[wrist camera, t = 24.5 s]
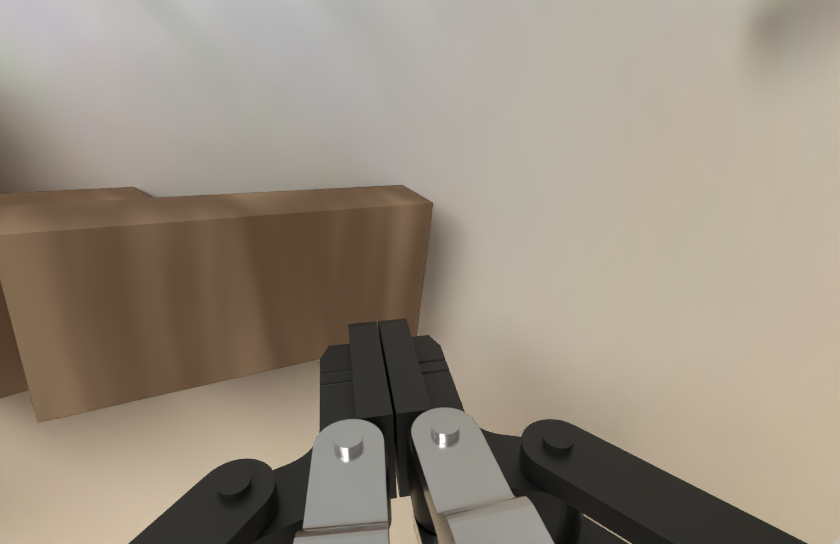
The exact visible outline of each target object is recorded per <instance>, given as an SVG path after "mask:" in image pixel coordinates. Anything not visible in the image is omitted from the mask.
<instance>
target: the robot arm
mask: <svg viewBox="0 0 840 544" xmlns="http://www.w3.org/2000/svg"><path fill="white" fill-rule="evenodd" d="M348 329H349V341H350V344H341V345H331V346H328V348H327V349H326V351H325V352H324V354H323V355H322V357H321V358H320V431H319V434H318V436H317V437H316V439H315V441H314V445H313V447H312V449H311V450H310V451H309V452H308V453H306V454H305V455H304V456H303V457H301V458H299V459H298V460H296V461H294V462H292V463H290V464H287V465H285V466H282V467H280V468H277V469H275V470H272V469H271V467H269V466H268V465H267V464H266V463H264V462H262V461H259V460H256V459H238V460H234V461H230V462H228V463H225V464H223V465H221V466H219V467H217V468H216V469H214V470H212V471H211V472H210V473H209V474H207V475H206V476H205V477H204V478H203V479H202V480H201V481H199V482H198V483H197V484H196V485H195V486H194V487H193V488H191V489H190V490H189V491H188V492H187V493H186V494H185V495H183V496H182V497H181V498H180V499H179V500H178V501H177V502H175V503H174V504H173V505H172V506H171V507H170V508H169V509H167V510H166V511H165V512H164V513H163V514H162V515H161V516H160V517H158V518H157V519H156V520H155V521H154V522H153V523H152V524H150V525H149V526H148V527H147V528H146V529H145V530H144V531H142V532H141V533H140V534H139V535H138V536H137V537H136V538H134V539H133V540H132V541H131V542H130V543H129V544H390V538H389V528H390V525H391V520H392V519H391V499H393V498H397V493H396V477H397V483H398V490H399V496H400V497H405V496H411V500H412V506H413V522H414V531H415V535H416V539H417V543H418V544H628V543H627V542H625V541H623V540H622V539H620V538H619V537H617V536H615V535H614V534H612V533H610V532H609V531H607V530H606V529H604V528H602V527H601V526H599V525H597V524H596V523H594V522H593V521H591V520H589V519H588V518H586V517H585V516H583V514H585V515H587V516H588V517H590V518H592V519H593V520H595V521H596V522H598V523H600V524H601V525H603V526H605V527H606V528H608V529H609V530H611V531H613V532H614V533H616V534H618V535H619V536H621V537H622V538H624V539H626V540H627V541H629V542H631V543H632V544H807V543H805V542H803V541H801V540H799V539H797V538H795V537H793V536H791V535H789V534H788V533H786V532H784V531H782V530H780V529H778V528H776V527H774V526H772V525H770V524H768V523H766V522H764V521H762V520H760V519H758V518H756V517H754V516H752V515H750V514H748V513H746V512H744V511H742V510H740V509H738V508H736V507H734V506H732V505H730V504H728V503H726V502H724V501H722V500H721V499H719V498H717V497H715V496H713V495H711V494H709V493H707V492H705V491H703V490H701V489H699V488H697V487H695V486H693V485H691V484H689V483H687V482H685V481H683V480H681V479H679V478H677V477H675V476H673V475H671V474H669V473H667V472H665V471H663V470H661V469H659V468H657V467H655V466H654V465H652V464H650V463H648V462H646V461H644V460H642V459H640V458H638V457H636V456H634V455H632V454H630V453H628V452H626V451H624V450H622V449H620V448H618V447H616V446H614V445H612V444H610V443H608V442H606V441H604V440H602V439H600V438H598V437H596V436H594V435H592V434H590V433H588V432H586V431H585V430H583V429H581V428H579V427H577V426H575V425H572V424H570V423H568V422H564V421H560V420H553V419H547V420H540V421H537V422H534V423H532V424H530V425H529V426H528V427H526V429H525V430H524V432H523V434H522V437H517V436H509V435H501V434H495V433H492V432H488V431H486V430H484V429H482V428H480V427H479V426H478V424H477V422H476V421H475V420H474V419H473V417H471V416H470V415H469V414H467V413H465V411H464V409H463V406H462V403H461V401H460V398H459V395H458V393H457V390H456V387H455V384H454V382H453V379H452V376H451V373H450V372H449V368H448V365H447V363H446V361H445V357H444V354H443V352H442V349H441V346H440V345H439V344H438V343H437V342H435V341H434V340H433V339H432V338H431V337H430V336H429V335H426V336H416V337H412V336H411V333H410V329H409V326H408V322H407V319H406V318H404V319H394V320H384V321H378V329H377V323H376V321H375V322H365V323H355V324H348Z"/></svg>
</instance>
